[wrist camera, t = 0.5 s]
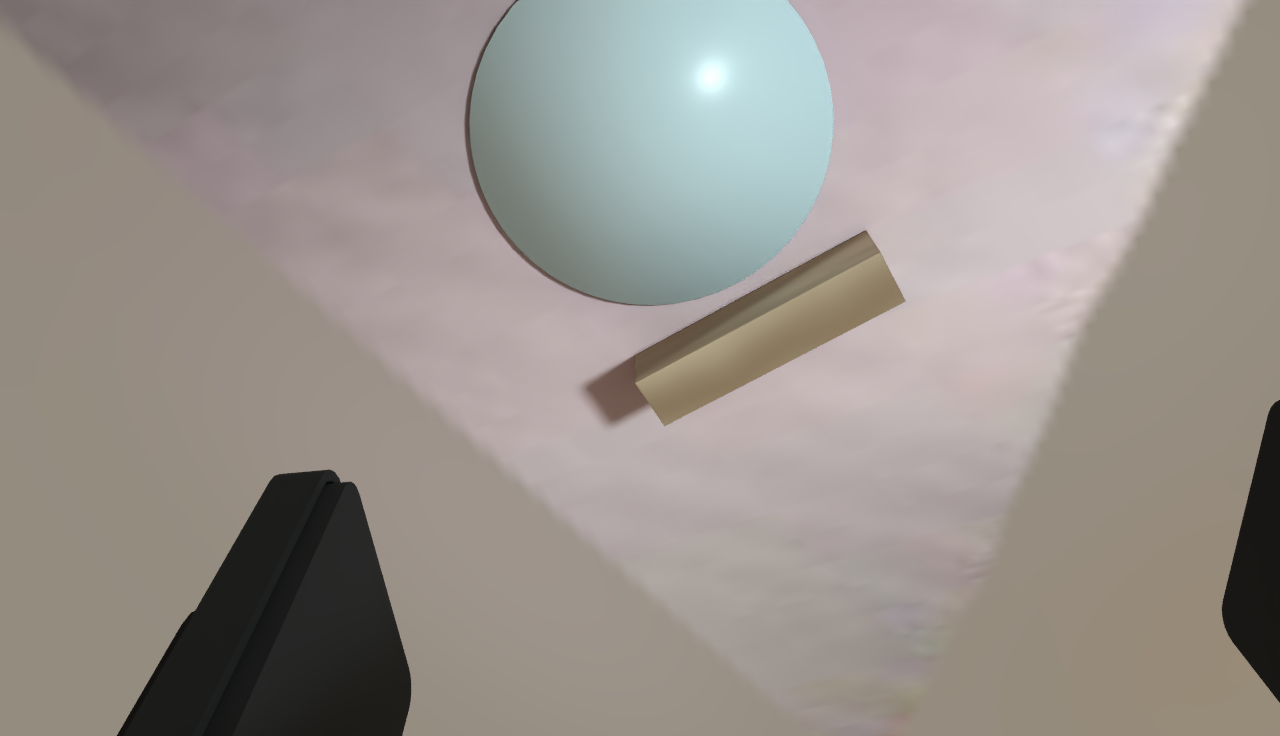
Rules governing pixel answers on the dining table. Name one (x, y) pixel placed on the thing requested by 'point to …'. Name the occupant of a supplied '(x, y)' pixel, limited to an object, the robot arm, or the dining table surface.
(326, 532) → the robot arm
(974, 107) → the dining table surface
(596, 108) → the light blue plate
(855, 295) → the tan bar
